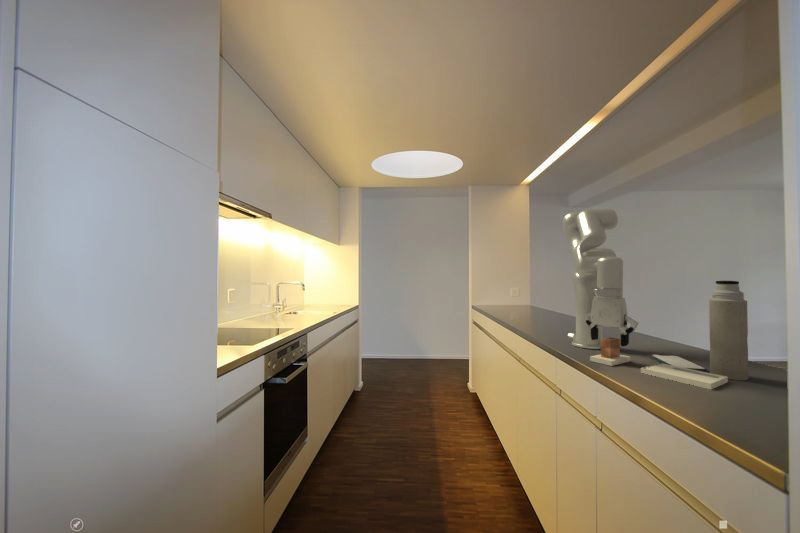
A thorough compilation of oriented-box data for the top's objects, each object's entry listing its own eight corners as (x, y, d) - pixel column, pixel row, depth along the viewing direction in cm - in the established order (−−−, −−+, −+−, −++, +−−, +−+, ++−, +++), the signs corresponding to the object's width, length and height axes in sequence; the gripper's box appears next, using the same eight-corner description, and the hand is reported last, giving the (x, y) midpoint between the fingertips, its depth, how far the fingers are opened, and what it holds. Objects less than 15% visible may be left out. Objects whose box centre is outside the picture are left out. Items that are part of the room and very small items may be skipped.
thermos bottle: (742, 374, 98) (741, 280, 99) (753, 382, 91) (751, 281, 92) (706, 370, 102) (705, 280, 103) (714, 377, 95) (713, 280, 96)
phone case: (709, 374, 100) (677, 360, 116) (709, 369, 100) (677, 355, 116) (675, 372, 102) (648, 358, 118) (675, 367, 102) (648, 354, 118)
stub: (589, 360, 112) (589, 338, 112) (609, 356, 118) (609, 335, 118) (611, 365, 106) (611, 342, 106) (630, 361, 112) (630, 339, 112)
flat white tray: (640, 373, 99) (640, 367, 99) (659, 367, 105) (659, 362, 105) (710, 389, 85) (710, 383, 85) (727, 382, 91) (727, 376, 91)
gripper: (578, 291, 119) (578, 338, 119) (631, 296, 104) (631, 350, 104) (590, 290, 122) (590, 336, 123) (643, 294, 107) (642, 346, 108)
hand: (608, 342), depth 113 cm, fingers open, 9 cm apart
